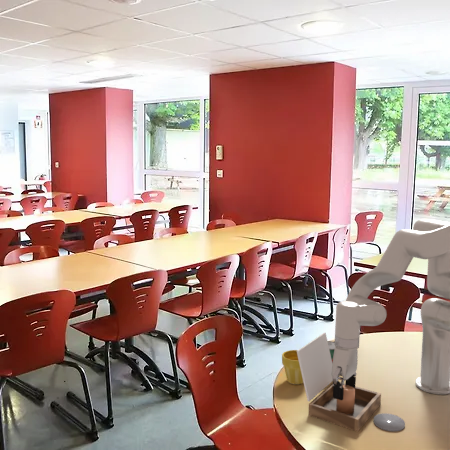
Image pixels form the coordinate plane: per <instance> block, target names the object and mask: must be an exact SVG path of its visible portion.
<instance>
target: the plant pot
mask: <svg viewBox="0 0 450 450" xmlns="http://www.w3.org/2000/svg"><path fill="white" fill-rule="evenodd" d="M297 350H298V349H290V350H286V351H283V352H282V354H281V364H282V365H283V367H284V371H285V376H286V380H287V383H289V384H293V385H302V384H304V382H303V378H302V373H301V369H300V364H299V360H298V355H297Z"/></svg>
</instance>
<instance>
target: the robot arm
mask: <svg viewBox="0 0 450 450" xmlns="http://www.w3.org/2000/svg"><path fill="white" fill-rule="evenodd" d="M412 228H413V229H407V228H405V229H404V228H402V229H399V230H397V231H396V232H395V233H394V235H393V237H392V238H391V240H390V242H389V244H388V245H387V247H386V249H385V251H384V253H383V255H382V256H381V258H380V260H379V262H378V263H377V265H376V266H375V267H374V268H373V269H371V270H369V271H367V272H366V273H365V274H364V275H362V276H361V277H359V279H358V280H356V281H355V283H354V284H353V286H352V288H351V289H350V291H349V292H348V295H347V296H346V299H345V300H343V301H339V302H337V304H336V308H335V309H336V310H335V325H334V326H335V327H334V329H335V330H334V341H335V344H334V345H335V346H336V347H335V350H334V355H333V363H332V379H333V381H332V383H333V398H336V399H339V400H343V395H344V388H343V384H344V383H345V385H349V386H352V387H353V388H354V389H355V386H356V383H357V370H358V369H357V368H358V360H359V359H358V356H359V354H358V350H359V348H360V338H361V337H360V336H361V335H360V334H361V327H362V326H363V327H364V326H365V327H376V326H379V325H382V324H383V323H384V322H385V320H386V318H387V315H388V314H387V309H386V308H385V307H384V306H383V305H382V304H381V303H379V302H377V301H375V300H371V299H369V298H368V297H369V296H370V295H371V293H373V291H374V290H376V289H378V288H379V287H382V286H385V285H388V284H392V283H397V282H399V281H401V280H402V279H403V277H404V276H405V273H406V272H407V270H408V268H409V266H410V264H411V262H412V261H413V259H414V258H417V259H420V260H427V273H426V275H427V276H426V286H427V290H428V292H429V293H431V294H432V295H435V296H436V297H432V298H428V299H426V300H424V302H423V303H422V304H421V307H420V319H421V325H422V338H421V339H422V340H421V359H420V361H421V362H420V376H419V377H417V378H416V379H415V386H416V387H417V388H418V389H419V390H421V391H423V392H426V393H428V394H434V395H450V221H443V220H439V219H431V218H422V219H421V218H420V219H418V220H417V221H415V223H414V224H413V227H412ZM437 296H438V297H440V298H437ZM441 298H444V299H441ZM445 299H446V300H445ZM340 382H341V384H340Z"/></svg>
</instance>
